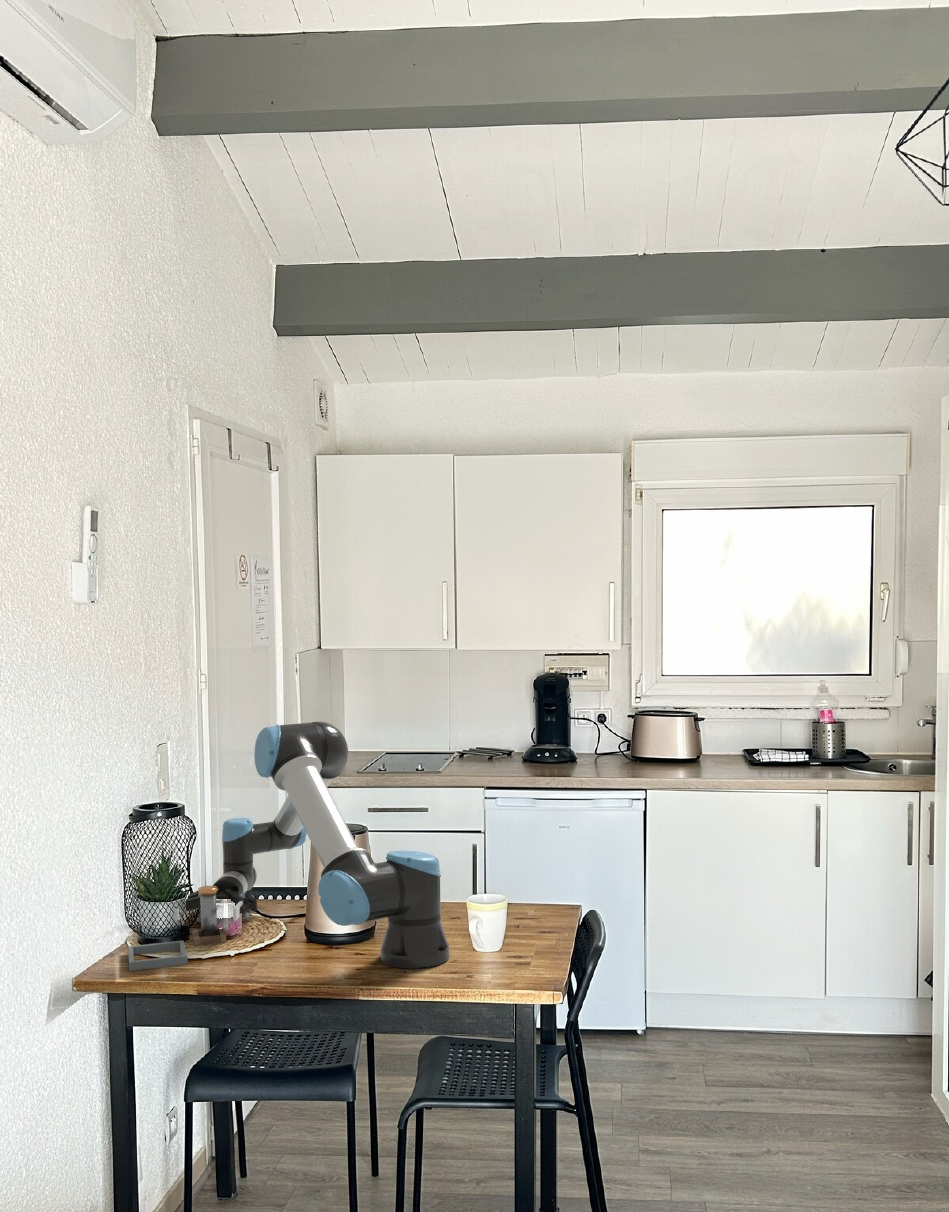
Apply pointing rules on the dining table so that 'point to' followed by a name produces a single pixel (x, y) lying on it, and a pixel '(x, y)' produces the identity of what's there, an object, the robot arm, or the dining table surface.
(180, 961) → the tray
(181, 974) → the dining table surface
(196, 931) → the socket block
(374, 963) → the dining table surface
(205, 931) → the pin
